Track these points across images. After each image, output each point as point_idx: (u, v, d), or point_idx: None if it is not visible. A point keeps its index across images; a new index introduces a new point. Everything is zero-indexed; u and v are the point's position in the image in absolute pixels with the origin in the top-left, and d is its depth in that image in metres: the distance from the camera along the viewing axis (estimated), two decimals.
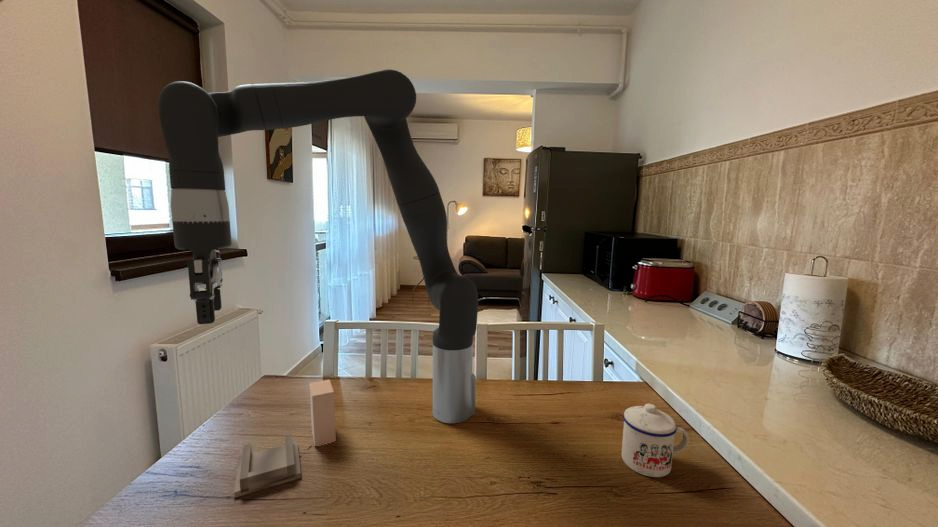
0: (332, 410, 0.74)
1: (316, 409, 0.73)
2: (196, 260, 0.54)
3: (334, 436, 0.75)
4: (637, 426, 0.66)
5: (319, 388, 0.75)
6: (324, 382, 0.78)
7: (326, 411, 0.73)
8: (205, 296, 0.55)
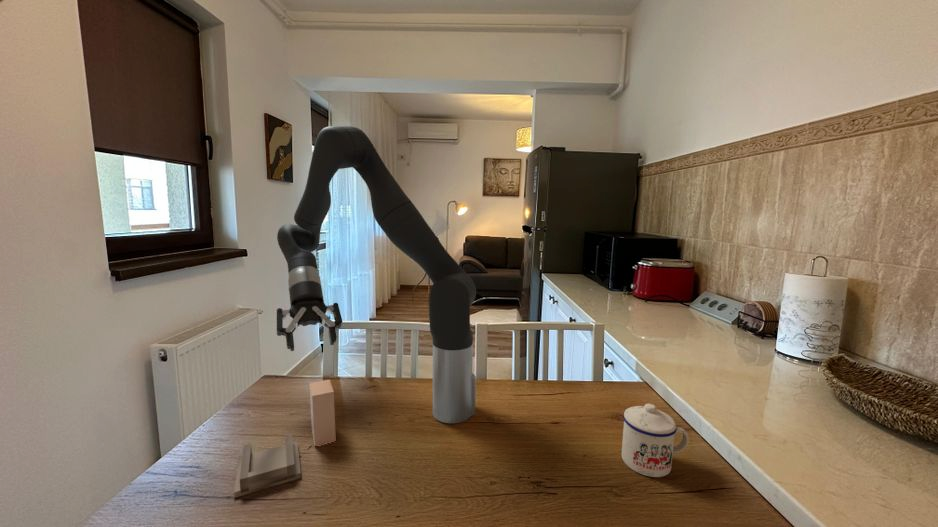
0: (332, 410, 0.74)
1: (316, 409, 0.73)
2: None
3: (334, 436, 0.75)
4: (637, 426, 0.66)
5: (318, 388, 0.75)
6: (324, 382, 0.78)
7: (326, 411, 0.73)
8: (277, 331, 0.83)
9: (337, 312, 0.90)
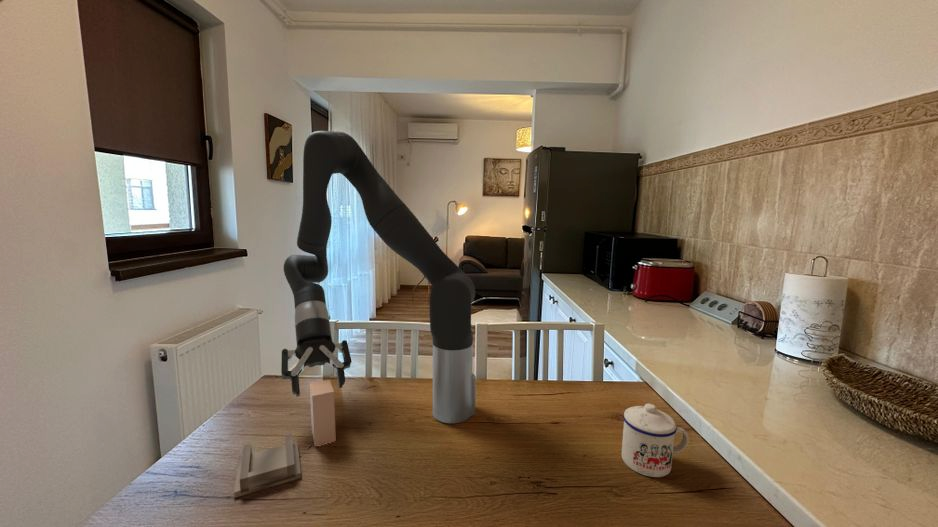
0: (332, 410, 0.74)
1: (316, 409, 0.73)
2: None
3: (334, 436, 0.75)
4: (637, 426, 0.66)
5: (319, 388, 0.75)
6: (324, 382, 0.78)
7: (326, 411, 0.73)
8: None
9: (346, 351, 0.84)
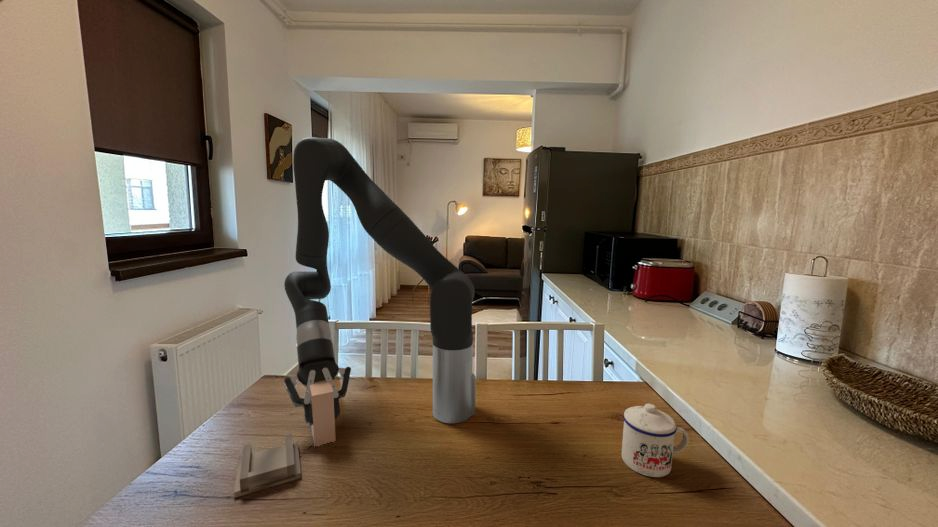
0: (332, 410, 0.74)
1: (316, 409, 0.73)
2: None
3: (334, 436, 0.75)
4: (637, 426, 0.66)
5: (318, 388, 0.75)
6: (324, 382, 0.78)
7: (326, 411, 0.73)
8: (294, 402, 0.74)
9: (346, 379, 0.80)
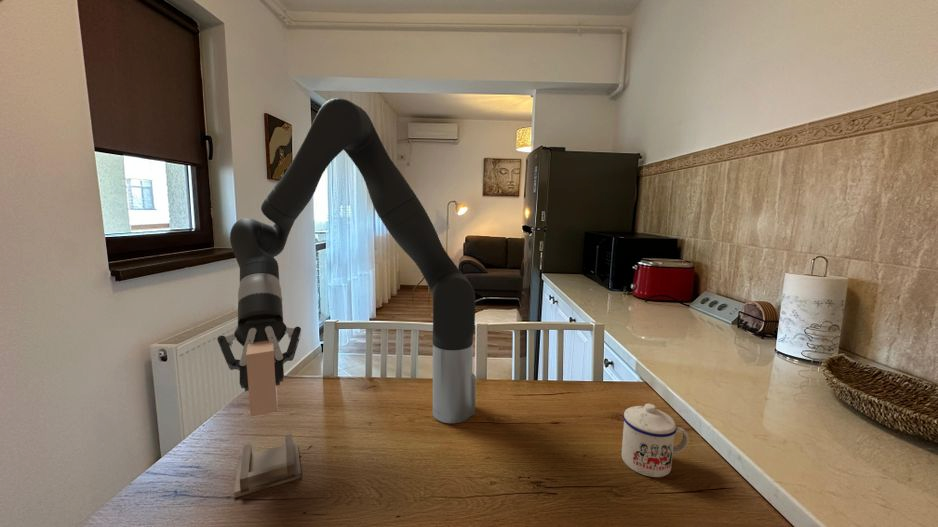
0: (272, 373, 0.63)
1: (252, 371, 0.61)
2: None
3: (275, 404, 0.63)
4: (637, 426, 0.66)
5: (257, 347, 0.64)
6: (266, 342, 0.66)
7: (264, 374, 0.62)
8: (228, 364, 0.63)
9: (293, 339, 0.68)
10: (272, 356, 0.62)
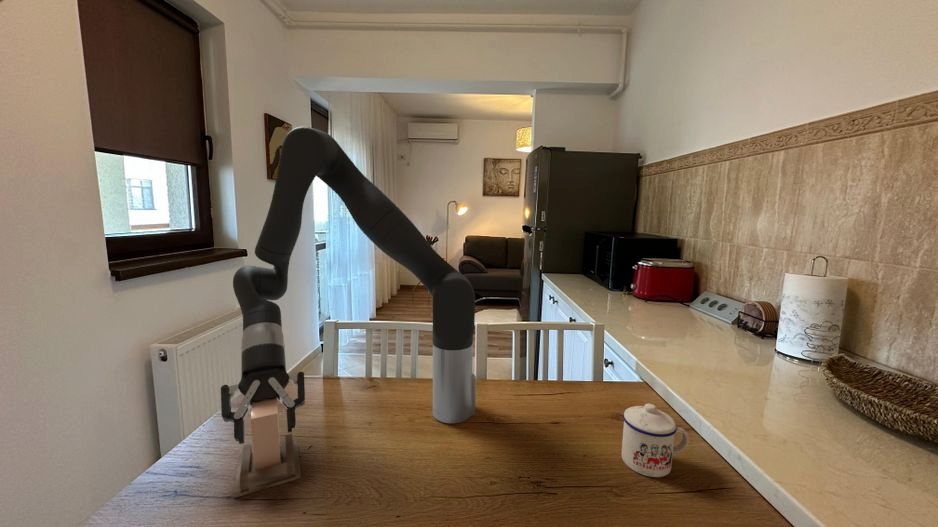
0: (276, 434, 0.64)
1: (256, 434, 0.63)
2: None
3: None
4: (637, 426, 0.66)
5: (261, 408, 0.65)
6: (269, 401, 0.68)
7: (269, 436, 0.64)
8: (222, 417, 0.64)
9: (300, 385, 0.70)
10: (276, 418, 0.64)
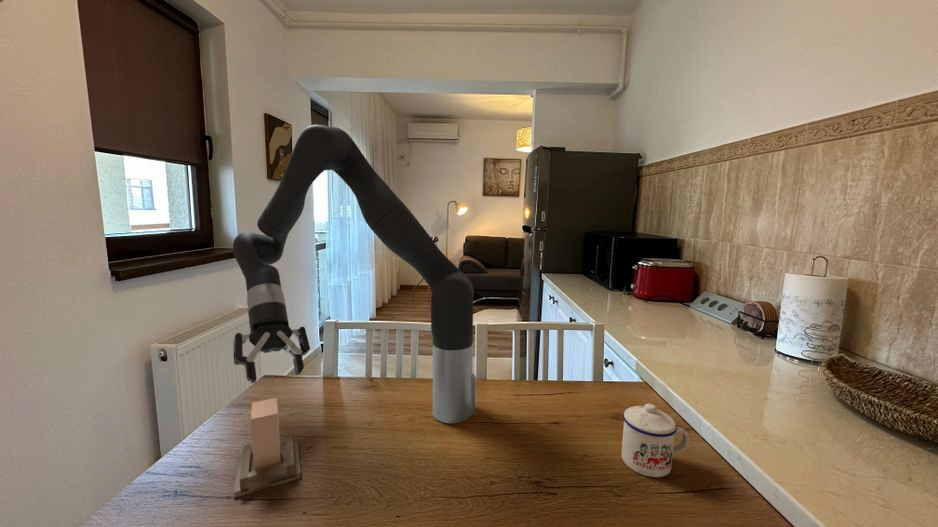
0: (276, 434, 0.64)
1: (256, 434, 0.63)
2: (235, 336, 0.76)
3: None
4: (637, 426, 0.66)
5: (261, 408, 0.65)
6: (269, 401, 0.68)
7: (269, 436, 0.64)
8: (235, 360, 0.73)
9: (304, 337, 0.83)
10: (276, 418, 0.64)
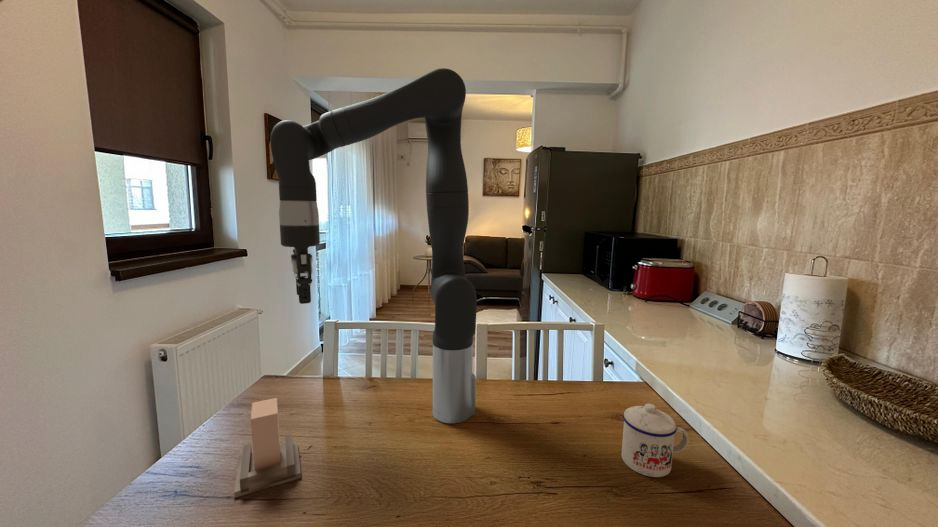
0: (276, 434, 0.64)
1: (256, 434, 0.63)
2: (302, 254, 0.72)
3: None
4: (637, 426, 0.66)
5: (261, 408, 0.65)
6: (269, 401, 0.68)
7: (269, 436, 0.64)
8: (308, 282, 0.72)
9: None
10: (276, 418, 0.64)
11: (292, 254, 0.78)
